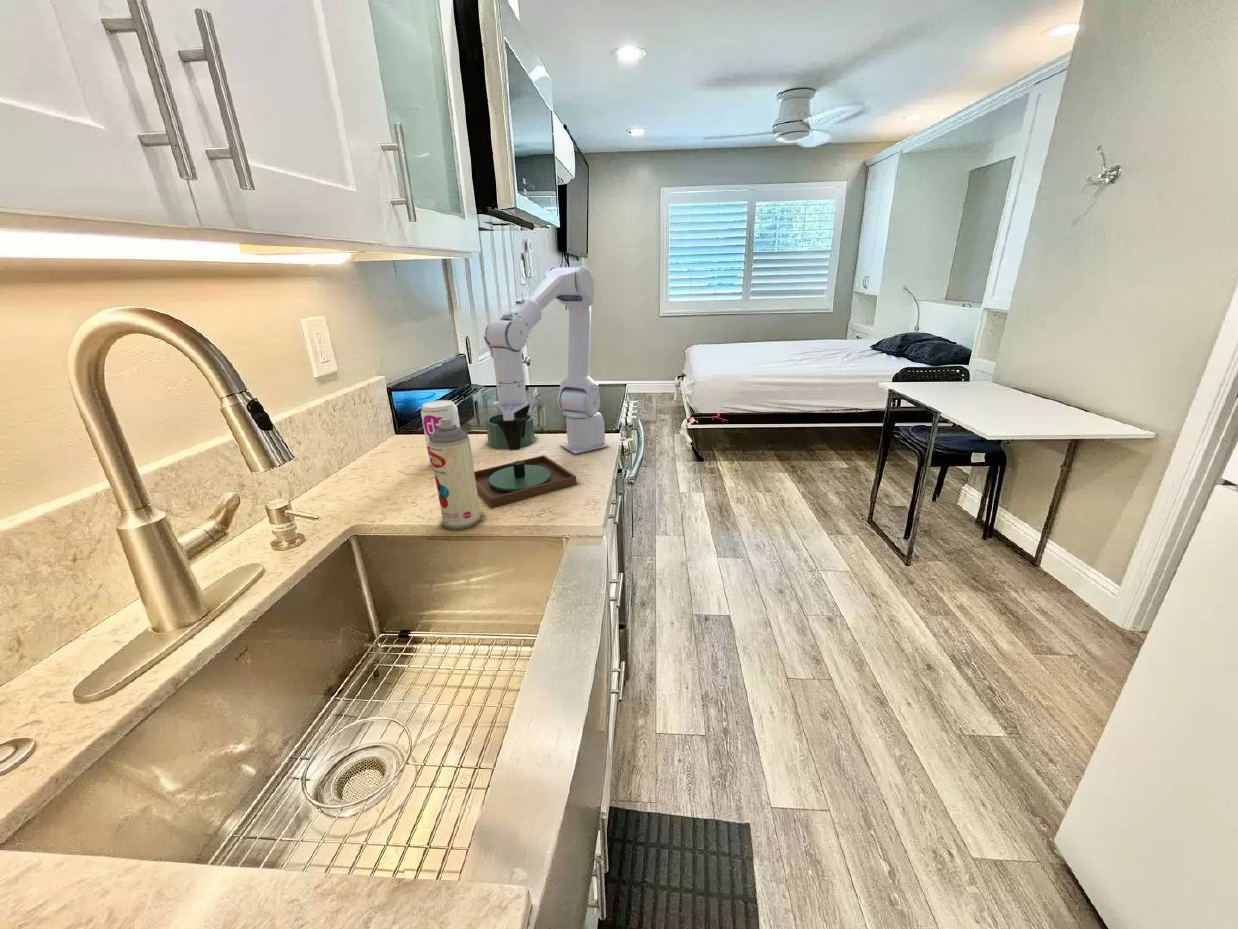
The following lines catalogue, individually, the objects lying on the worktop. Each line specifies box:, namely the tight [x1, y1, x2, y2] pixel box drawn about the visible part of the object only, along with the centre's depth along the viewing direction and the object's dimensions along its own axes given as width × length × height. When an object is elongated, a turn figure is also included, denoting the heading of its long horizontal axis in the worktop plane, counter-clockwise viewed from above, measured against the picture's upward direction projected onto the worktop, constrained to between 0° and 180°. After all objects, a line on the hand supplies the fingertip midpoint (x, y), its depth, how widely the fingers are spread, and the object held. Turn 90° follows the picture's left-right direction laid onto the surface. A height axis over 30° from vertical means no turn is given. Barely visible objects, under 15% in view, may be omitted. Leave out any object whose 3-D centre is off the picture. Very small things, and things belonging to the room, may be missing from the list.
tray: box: [474, 454, 578, 508], centre depth 108 cm, size 19×16×2 cm
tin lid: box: [489, 460, 551, 491], centre depth 107 cm, size 13×13×4 cm
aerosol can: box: [429, 417, 482, 530], centre depth 89 cm, size 7×7×20 cm
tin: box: [485, 412, 536, 450], centre depth 134 cm, size 12×12×6 cm
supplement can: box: [420, 399, 461, 466], centre depth 118 cm, size 8×8×15 cm
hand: (517, 443), depth 105 cm, fingers open, 7 cm apart
